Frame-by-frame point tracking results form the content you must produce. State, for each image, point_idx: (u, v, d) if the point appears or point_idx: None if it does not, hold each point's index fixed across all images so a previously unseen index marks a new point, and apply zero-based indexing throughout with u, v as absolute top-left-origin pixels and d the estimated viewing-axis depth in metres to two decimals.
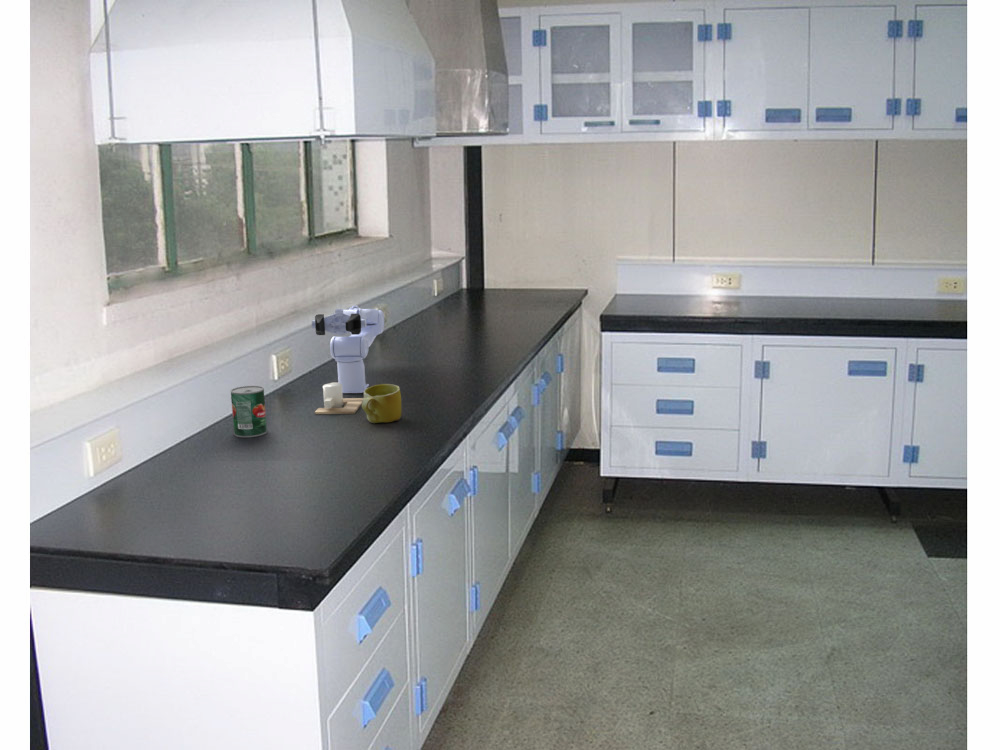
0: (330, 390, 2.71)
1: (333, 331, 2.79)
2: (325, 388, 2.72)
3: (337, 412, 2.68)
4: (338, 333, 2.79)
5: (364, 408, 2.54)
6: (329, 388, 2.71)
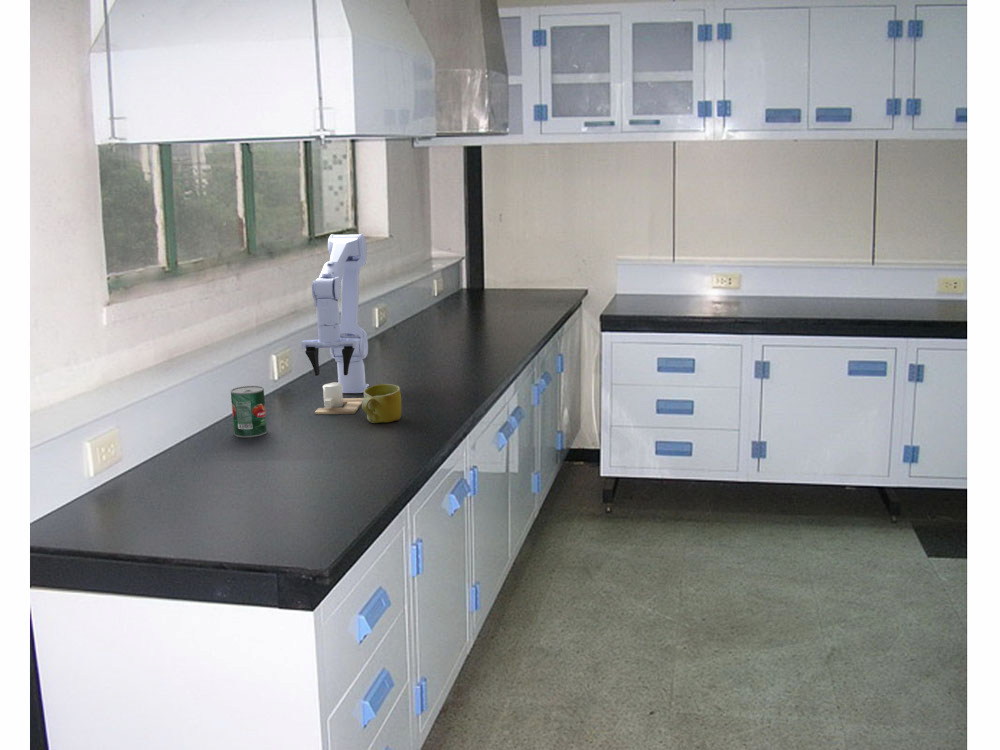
0: (330, 390, 2.71)
1: None
2: (325, 388, 2.72)
3: (337, 412, 2.68)
4: None
5: (364, 408, 2.54)
6: (329, 388, 2.71)
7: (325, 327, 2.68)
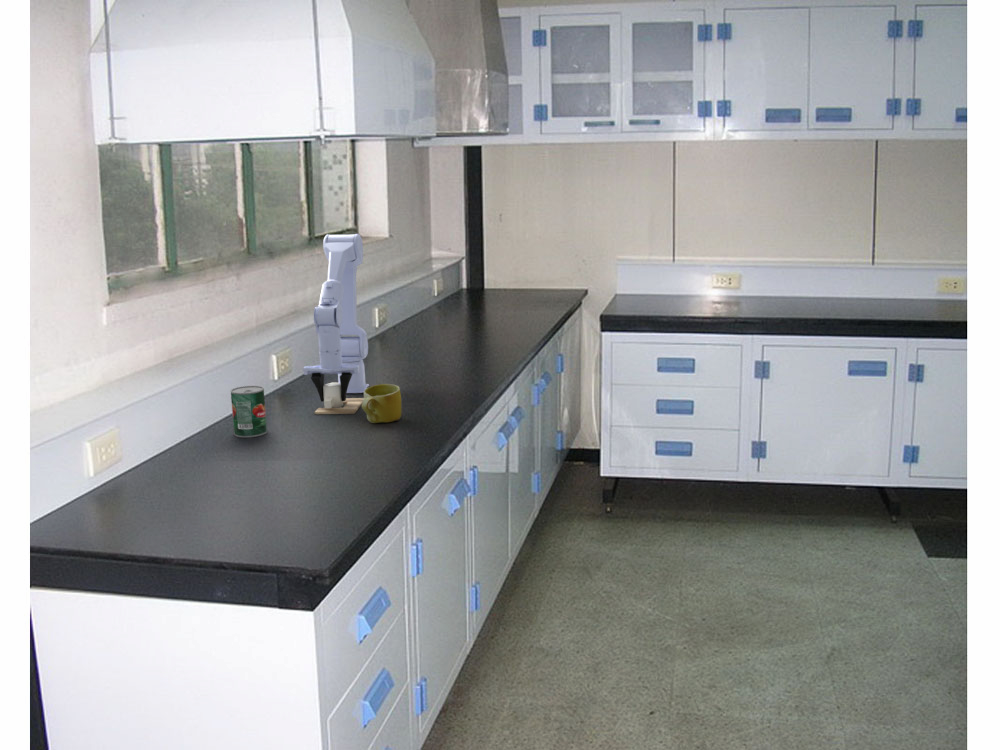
0: (330, 390, 2.71)
1: None
2: (325, 388, 2.72)
3: (337, 412, 2.68)
4: None
5: (364, 408, 2.54)
6: (329, 388, 2.71)
7: (327, 354, 2.69)
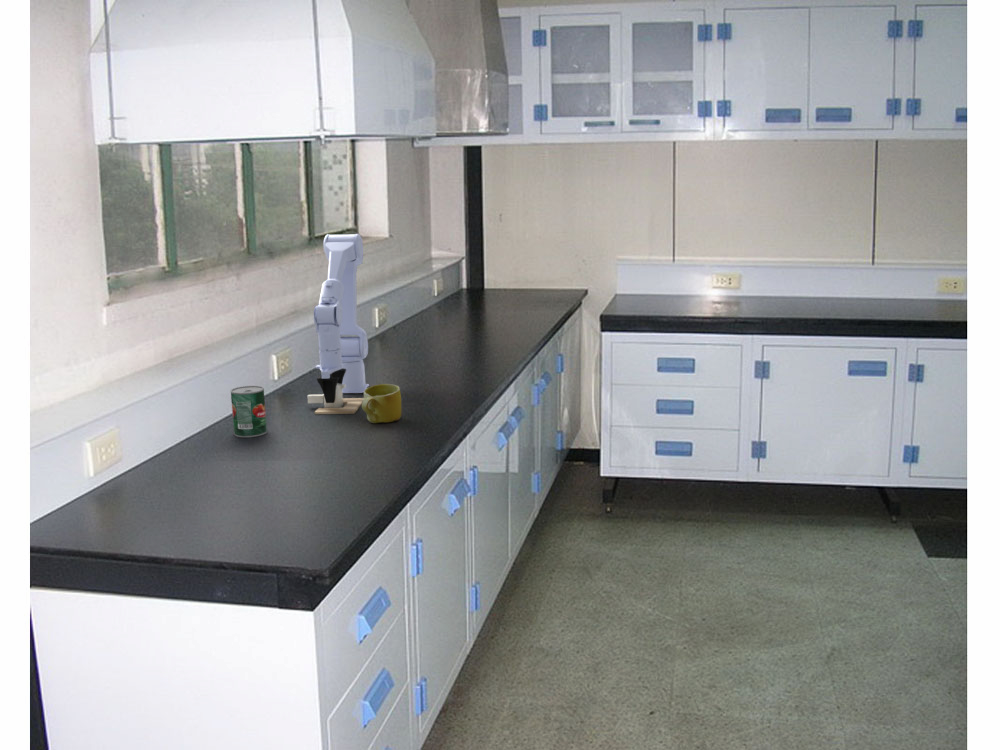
0: None
1: None
2: None
3: (337, 412, 2.68)
4: None
5: (364, 408, 2.54)
6: None
7: None
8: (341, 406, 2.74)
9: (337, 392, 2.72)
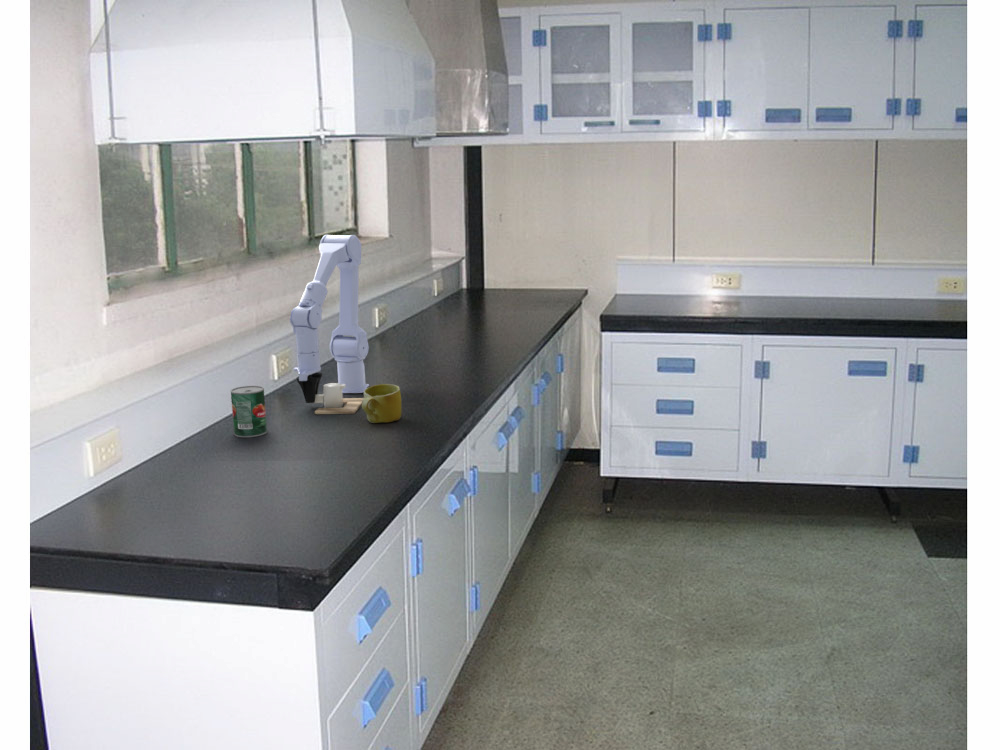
0: None
1: None
2: None
3: (337, 412, 2.68)
4: None
5: (364, 408, 2.54)
6: None
7: None
8: (341, 406, 2.74)
9: (337, 392, 2.72)
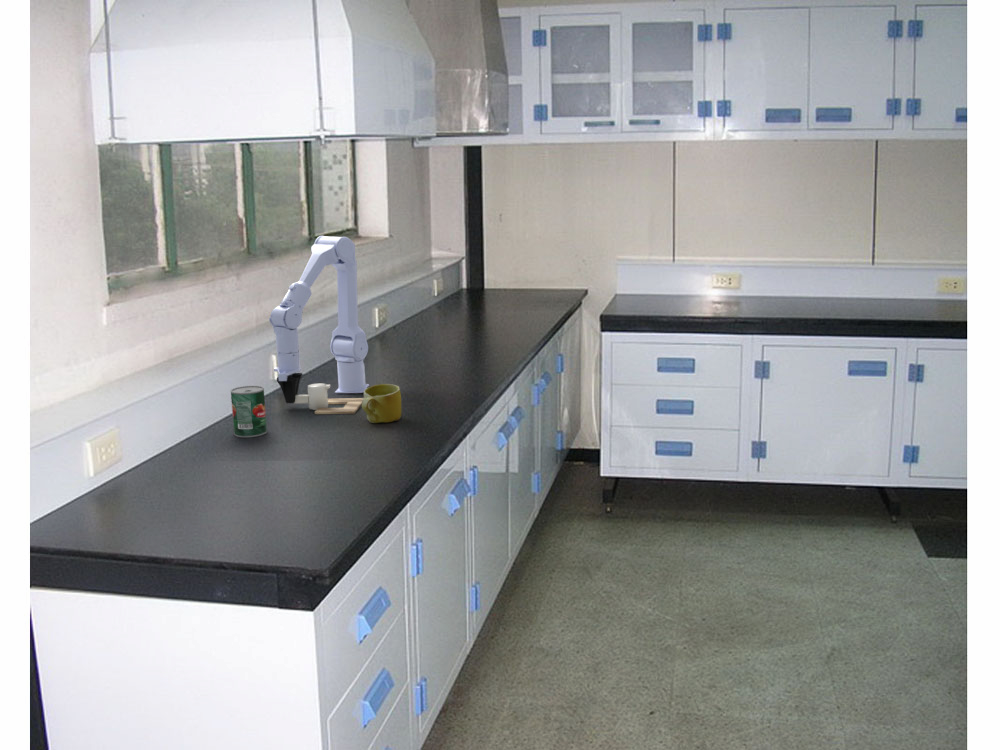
0: None
1: None
2: None
3: (337, 412, 2.68)
4: None
5: (364, 408, 2.54)
6: None
7: None
8: (326, 406, 2.74)
9: (321, 393, 2.72)
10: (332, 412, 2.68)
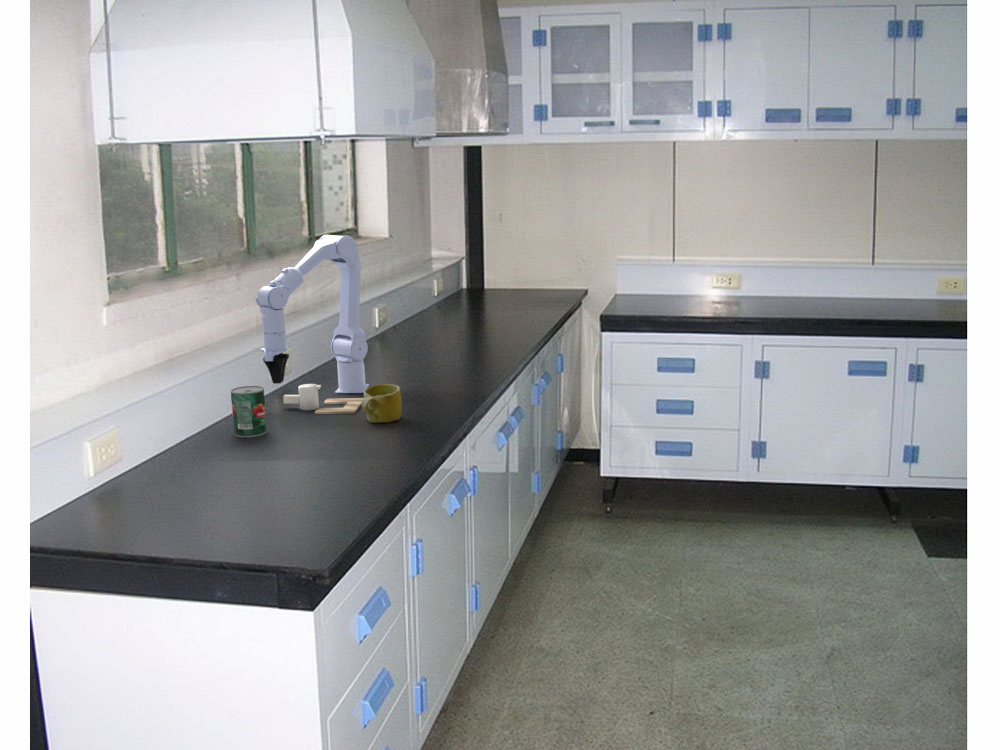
0: None
1: None
2: None
3: (337, 412, 2.68)
4: None
5: (364, 408, 2.54)
6: None
7: None
8: (316, 407, 2.74)
9: (311, 393, 2.72)
10: (332, 412, 2.68)
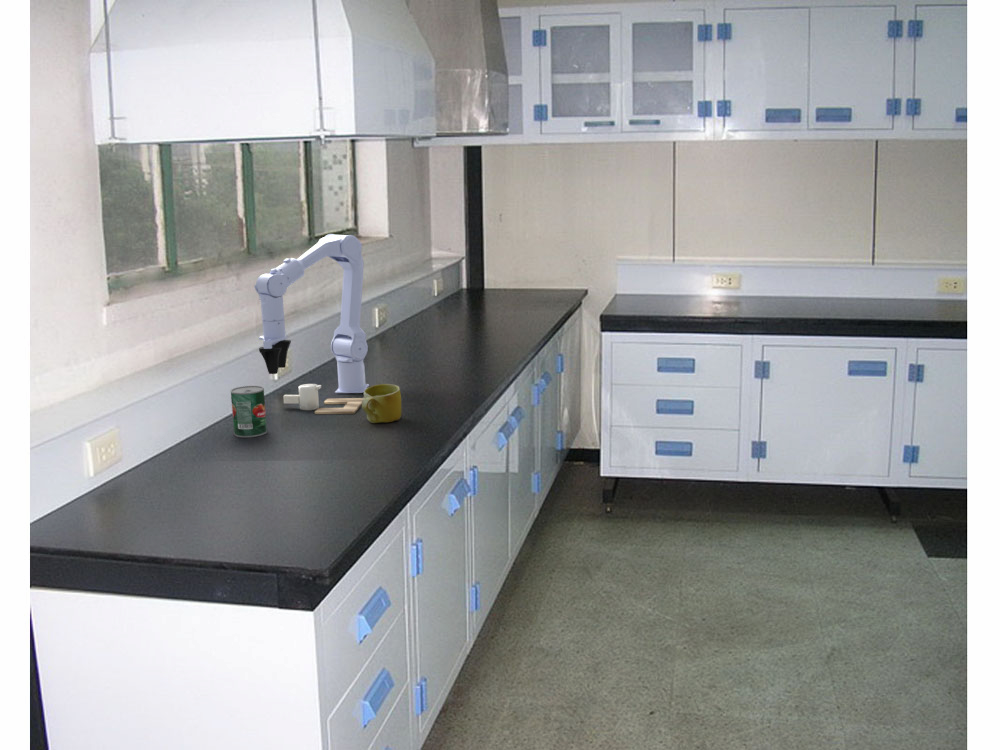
0: None
1: None
2: None
3: (337, 412, 2.68)
4: None
5: (364, 408, 2.54)
6: None
7: None
8: (316, 407, 2.74)
9: (311, 393, 2.72)
10: (332, 412, 2.68)
